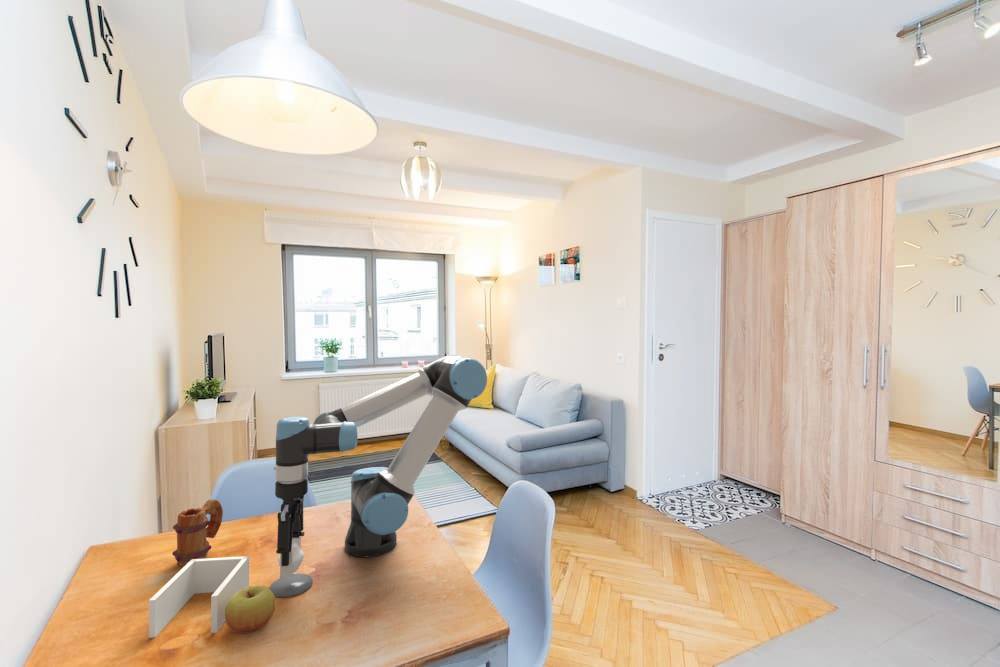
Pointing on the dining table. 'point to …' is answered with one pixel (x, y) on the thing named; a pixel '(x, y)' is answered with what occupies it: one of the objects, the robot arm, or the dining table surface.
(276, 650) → the dining table surface
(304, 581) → the coaster
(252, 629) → the apple
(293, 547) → the white rounded ribbed piece
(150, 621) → the cubby
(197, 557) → the mug
